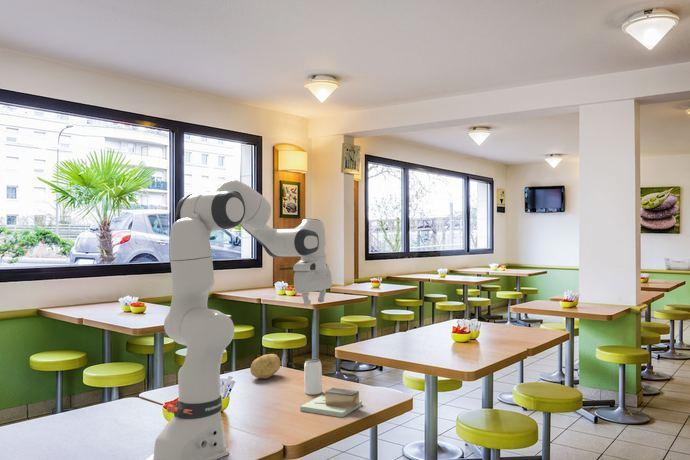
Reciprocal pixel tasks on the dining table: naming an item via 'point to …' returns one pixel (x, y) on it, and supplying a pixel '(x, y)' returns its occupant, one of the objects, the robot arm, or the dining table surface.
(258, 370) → the potato
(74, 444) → the dining table surface
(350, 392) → the block
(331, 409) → the board
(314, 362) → the can
